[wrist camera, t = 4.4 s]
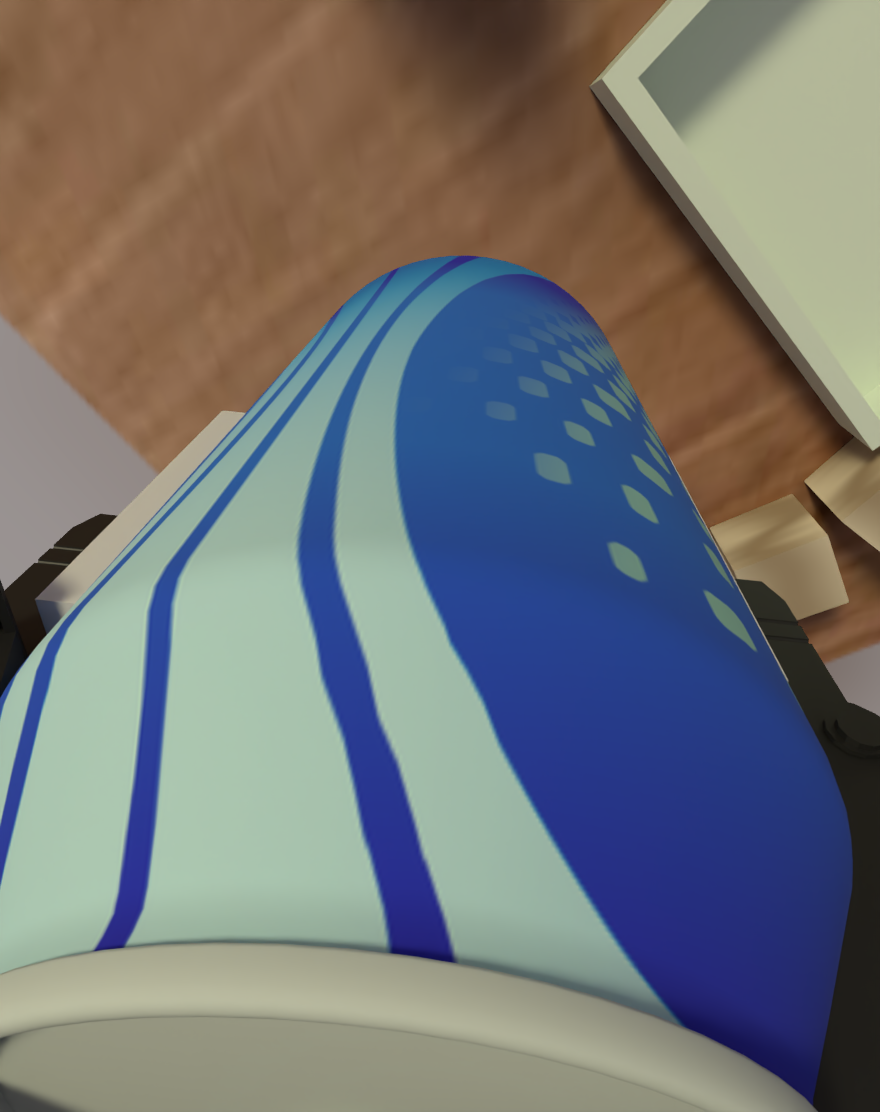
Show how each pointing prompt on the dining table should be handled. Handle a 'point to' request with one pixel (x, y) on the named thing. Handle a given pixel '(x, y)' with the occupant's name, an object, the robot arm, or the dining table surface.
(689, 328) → the dining table surface
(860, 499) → the beech cube
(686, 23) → the tray
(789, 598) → the beech cube
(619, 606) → the beer can
